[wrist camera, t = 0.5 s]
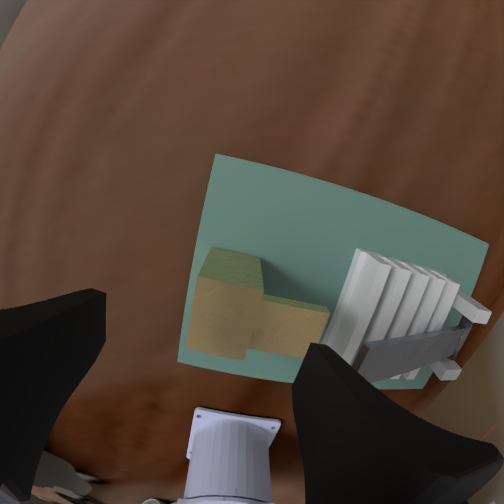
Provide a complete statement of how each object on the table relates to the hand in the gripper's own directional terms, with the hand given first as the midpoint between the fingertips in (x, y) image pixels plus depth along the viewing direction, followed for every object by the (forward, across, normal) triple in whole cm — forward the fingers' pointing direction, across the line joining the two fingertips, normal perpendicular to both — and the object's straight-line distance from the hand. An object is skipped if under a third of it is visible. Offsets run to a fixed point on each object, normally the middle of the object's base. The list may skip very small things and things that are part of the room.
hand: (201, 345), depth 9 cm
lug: (+9, -2, +1) cm, 9 cm away
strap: (+4, -13, +1) cm, 13 cm away
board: (+10, -10, +1) cm, 14 cm away
